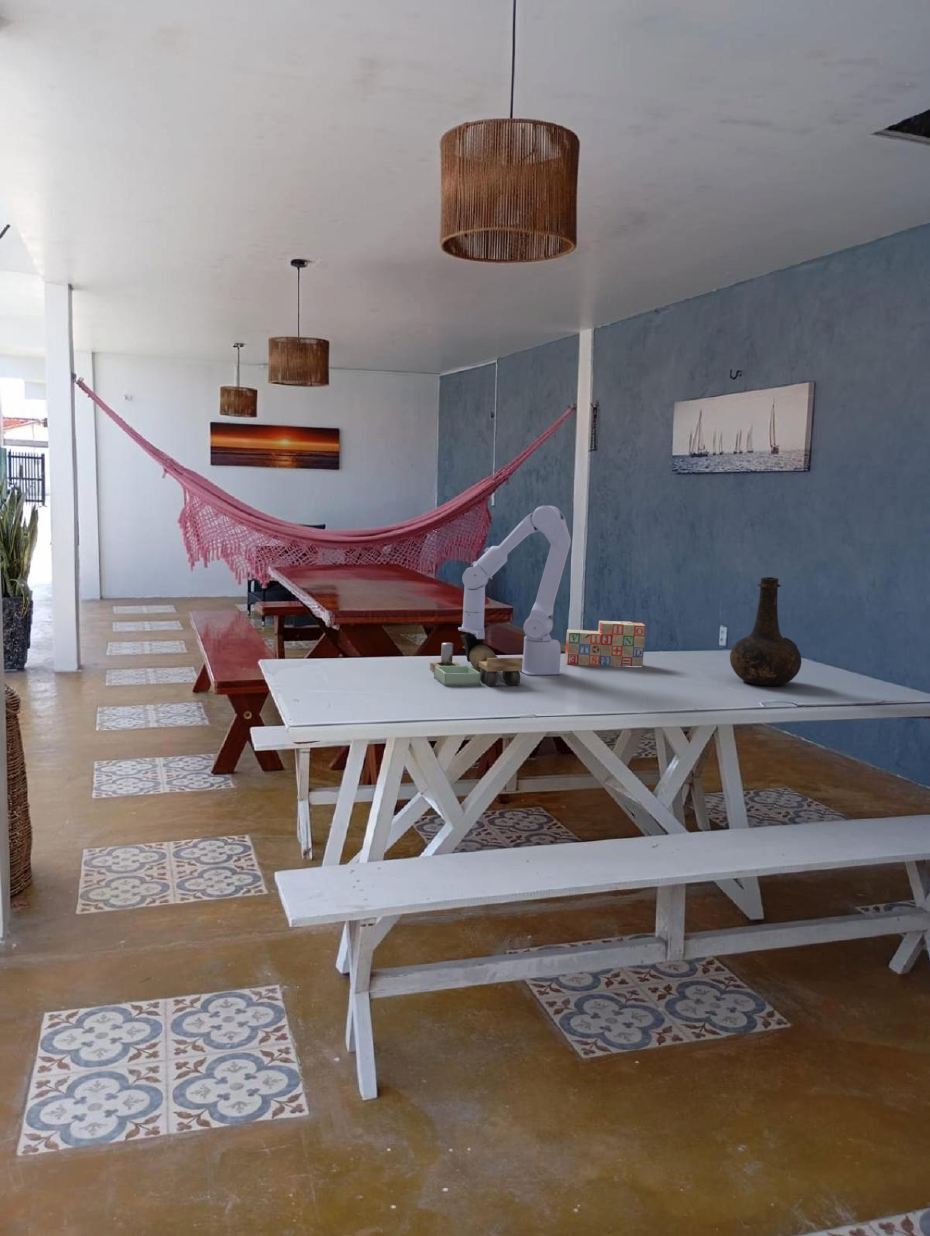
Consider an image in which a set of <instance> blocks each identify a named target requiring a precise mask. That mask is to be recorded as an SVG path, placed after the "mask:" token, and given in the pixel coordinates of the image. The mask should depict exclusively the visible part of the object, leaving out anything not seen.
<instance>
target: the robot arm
mask: <svg viewBox="0 0 930 1236" xmlns="http://www.w3.org/2000/svg"><path fill="white" fill-rule="evenodd" d="M537 532H541V533H542V534H543V535H544V536H545V538H546V539H547V541H548V543H549V544H550V547H549V551H548V554H547V558H546V562H545V565H544V569H543V572H542V577H541V580H540V584H539V588H538V590H537V595H536V599H535V602H534V604H533V606H532V609H531V610H530V614H529V616H528V617H527V618H526V620H525V621H524V623H523V627H522V628H523V632H524V635H525V636H524V637H523V655H522V656H523V657H522V658H523V664H522V671H520V673H521V672H522V673H523V674H525V675H527V676H535V675H537V676H540V675H541V676H542V675H561V673H562V672H560V669H561V655H562V654H561V651H562V650H561V649H562V647H561V643H560V641H559V640H558V639H553V638H552V637H551V634H550V633H551V632H552V630H553V628H554V621H553V615H554V605H555V602H556V597H557V594H558V590H559V586H560V583H561V579H562V576H563V573H564V572H563V571H564V568H565V565H566V562H567V557H568V554H569V551H570V548H571V540H572V539H571V536H570V535H571V534H570V532H569V529H568V526H567V523H566V517H565V515H564V514H563V513H562V511H561V510H560V509H559V508H558V507H556V506H554V505H540V506H537V507H536V508H535V510H533V512H531V513H530V514H528V515H527V516H525V517H524V518H523V519H522V520H521V521H520V522H519V523H518V525H516V527H515V528H514V529H513V530H512V531H511V532H510V533H509V535H508V536H506V537H505V538H504V540H502V542H501V543H500V544H499V545H492V546H490V547H486V548H485V549H484V550H483V552H484V554H482V555H481V556H480V557H479V559H478V560H474V561H473V562H472V563H471V565H472V566H470V567H467V568H465V570H464V572H463V574H462V579H461V580H462V583H463V585H464V591H463V602H462V603H463V609H462V624H461V626H460V627H459V626H458V628H457V629H458V631H459V632H460V631H461V632H465V633H466V634H460V638H461V640H462V642H463V646H464V649H465V656H466V661H467V662H469V663H471V662H470V658H469V655H470V651H471V650H472V648H474V647H475V646H477V645H483V642H484V641H485V639H486V637H485V636H486V635H485V634H486V632H485V608H486V607H485V605H486V586H487V584H488V583H489V580H490V579H491V578H492V577H493V576H494V575H495V574H496V573H497V572H498V571H499V570H500V569H501V568H502V567H503V566H504V565H505V564H506V563H507V562H508V554H509V553H510V552H511V551H512V550H514V548H516V547H517V546H518V545H519V544H520V543H521V542H522V541H523V540H524V539H526V538H527V536H529V535H531V534H535V533H537ZM489 578H490V579H489Z"/></svg>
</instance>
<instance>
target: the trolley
mask: <svg viewBox="0 0 930 1236" xmlns="http://www.w3.org/2000/svg"><path fill="white" fill-rule="evenodd" d="M479 667H481V669H480V673H481V679H480V683H482V684H483V683H485V685H486V687H489V686H490V687H493V686H494V687H495V686H496V685H497V683H498V672H502V673H501V677H502V681H503V682H504V683H508V685H509V686H519V685H520V683H521V671H522V668H523V657H498V658H487V661H483V662H479ZM496 671H498V672H497V673H496Z"/></svg>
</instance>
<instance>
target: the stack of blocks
mask: <svg viewBox="0 0 930 1236" xmlns="http://www.w3.org/2000/svg"><path fill="white" fill-rule="evenodd" d="M645 633H646V625H645V624H644V623H643V622H632V621H625V620H624V621H622V620H621V621H620V620H619V621H616V620H615V621H614V620H613V621H612V620H611V621H610V620H598V628H597V630H588V629H587V630H586V629H585V630H584V629H567V630H566V637H565V639H566V640H565V641H566V642H565V657H564V658H565V659H564V661H565V663H566V665H571V666H573V665H574V666H575V665H576V666H577V665H578V666H589V667H590V666H591V667H593V666H594V667H610V666H643V664H644V654H645V653H644V651H645V643H646V642H645V640H646V634H645Z"/></svg>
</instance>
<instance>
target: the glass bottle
mask: <svg viewBox="0 0 930 1236" xmlns="http://www.w3.org/2000/svg"><path fill="white" fill-rule="evenodd" d="M757 587H759V588H760V589H759V596H758V597H759V598H758V604H757V611H756V617H755V620H754V621H755V622H754V624H753V628H752V631H751V633H750V634H749V635H748V636H745V637H743V638H741V639H739V640H738V641H737V642H736V643H734V645H733V646H732V648H731V650H730V652H729V662H730V666H731V668H732V669H733V672H734V673H735V674H736V675H737V676H738V677H739V679H741V680H742V681H744V682H745V683H748V684H751V683H752V685H756V684H757V685H758V686H764V685H765V686H767V687H775V686H776V687H779V686H782V685H785V684H787V683H789V682H791V681H792V680H793V679H795V677H796V676H797V675H798V673H799V672H800V670H801V667H802V656H801V652H800V650H799V649H798V646H797V644H796V643H795V642H793V640H791V639H790V638H788V637H783V636H782V633H781V631H780V625H779V619H778V615H779V614H778V588H781V587H782V585H781V584H779V578H777V577H772V576H771V577H770V576H769V577H768V576H766V577H761V578H760V583H758V584H757Z"/></svg>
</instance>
